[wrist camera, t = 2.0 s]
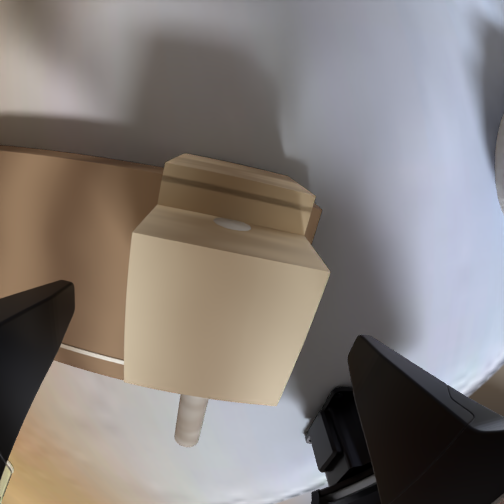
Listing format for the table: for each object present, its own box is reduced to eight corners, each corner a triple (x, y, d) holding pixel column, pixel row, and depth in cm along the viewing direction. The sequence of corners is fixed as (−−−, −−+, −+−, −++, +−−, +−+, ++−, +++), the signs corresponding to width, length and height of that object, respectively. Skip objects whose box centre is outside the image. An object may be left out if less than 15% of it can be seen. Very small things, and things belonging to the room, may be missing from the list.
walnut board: (310, 200, 16) (322, 210, 14) (253, 380, 20) (256, 403, 18) (-41, 142, 12) (-61, 146, 10) (-31, 306, 16) (-46, 319, 14)
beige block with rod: (288, 176, 15) (347, 220, 8) (232, 374, 19) (238, 483, 12) (184, 153, 14) (140, 174, 7) (153, 360, 18) (128, 468, 11)
